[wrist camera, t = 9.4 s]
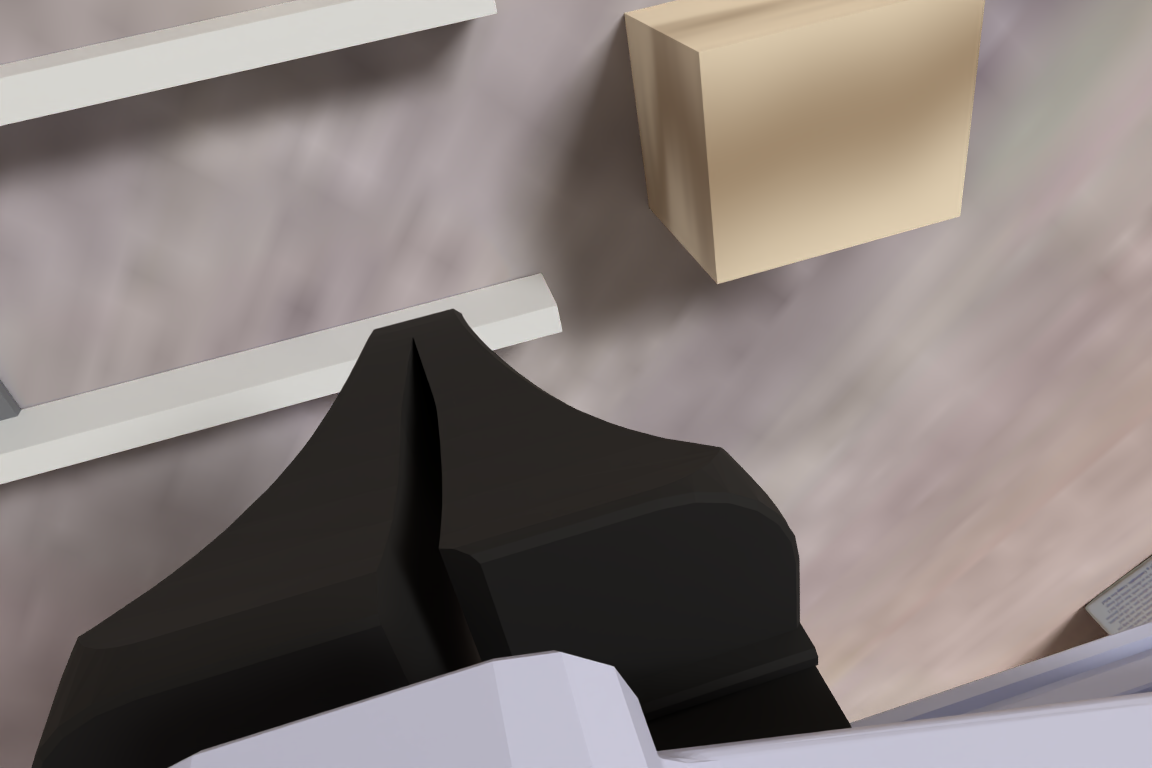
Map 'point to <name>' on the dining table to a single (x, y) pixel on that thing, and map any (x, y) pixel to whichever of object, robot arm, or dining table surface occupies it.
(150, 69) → the white u-shaped piece
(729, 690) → the robot arm
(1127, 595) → the medicine box
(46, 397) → the dining table surface
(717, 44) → the maple block
